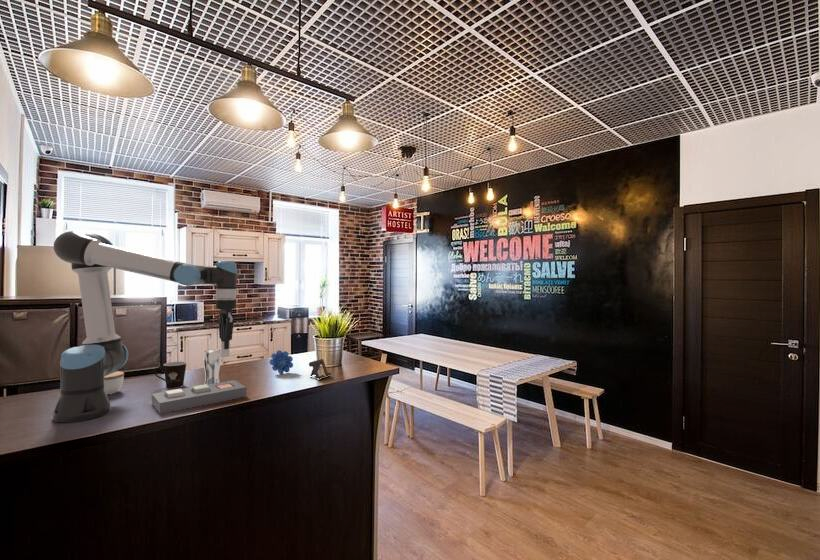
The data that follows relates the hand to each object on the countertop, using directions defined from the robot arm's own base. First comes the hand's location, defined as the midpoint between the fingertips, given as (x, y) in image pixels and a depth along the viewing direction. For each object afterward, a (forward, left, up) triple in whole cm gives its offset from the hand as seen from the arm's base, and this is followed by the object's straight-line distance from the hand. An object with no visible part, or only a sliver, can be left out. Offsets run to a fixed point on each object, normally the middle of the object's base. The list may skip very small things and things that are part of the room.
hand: (225, 356), depth 156 cm
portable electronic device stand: (+36, +25, -16) cm, 47 cm away
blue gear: (+17, +34, -16) cm, 41 cm away
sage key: (-7, -5, -14) cm, 16 cm away
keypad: (-7, -5, -16) cm, 18 cm away
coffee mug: (-27, +17, -16) cm, 36 cm away
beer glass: (-11, +19, -16) cm, 27 cm away
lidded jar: (-48, +9, -16) cm, 52 cm away
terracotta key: (0, 0, -15) cm, 15 cm away
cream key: (-15, -10, -14) cm, 22 cm away
